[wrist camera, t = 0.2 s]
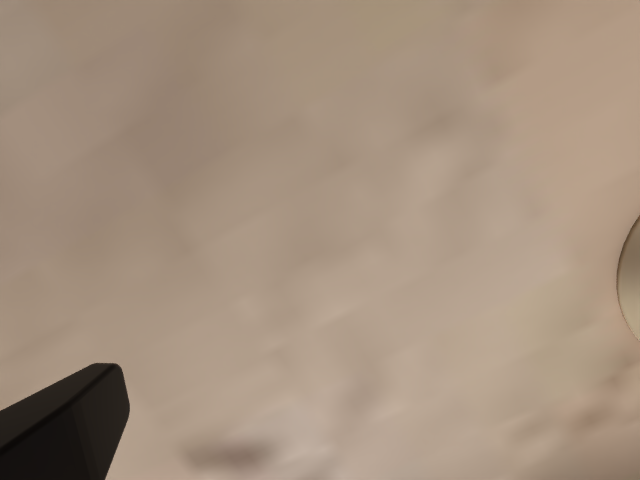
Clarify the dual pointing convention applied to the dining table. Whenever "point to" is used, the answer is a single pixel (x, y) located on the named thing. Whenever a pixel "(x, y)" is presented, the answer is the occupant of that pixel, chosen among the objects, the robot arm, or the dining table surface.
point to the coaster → (630, 279)
